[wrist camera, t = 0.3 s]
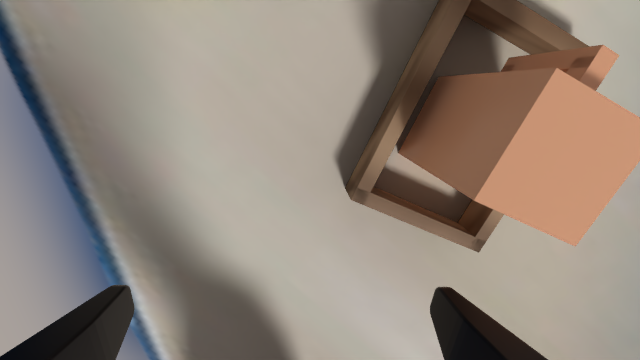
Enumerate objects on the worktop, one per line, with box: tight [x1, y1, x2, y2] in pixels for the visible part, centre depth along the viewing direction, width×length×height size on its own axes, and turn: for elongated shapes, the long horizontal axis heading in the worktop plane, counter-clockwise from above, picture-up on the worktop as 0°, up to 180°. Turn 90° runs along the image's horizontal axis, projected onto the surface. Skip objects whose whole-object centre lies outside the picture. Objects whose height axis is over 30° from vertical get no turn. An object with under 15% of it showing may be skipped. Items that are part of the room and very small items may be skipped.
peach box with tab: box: [398, 45, 640, 246], centre depth 17 cm, size 8×6×10 cm
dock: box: [345, 0, 589, 252], centre depth 21 cm, size 15×11×2 cm
